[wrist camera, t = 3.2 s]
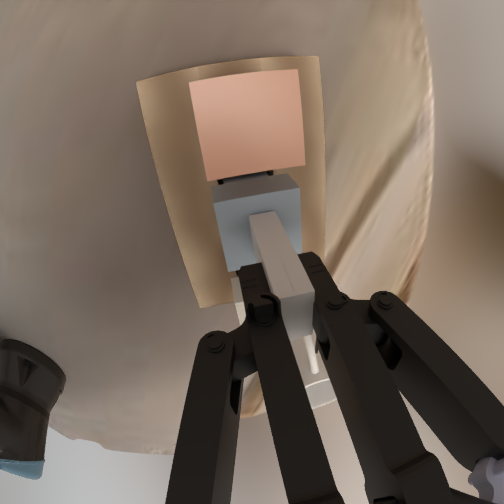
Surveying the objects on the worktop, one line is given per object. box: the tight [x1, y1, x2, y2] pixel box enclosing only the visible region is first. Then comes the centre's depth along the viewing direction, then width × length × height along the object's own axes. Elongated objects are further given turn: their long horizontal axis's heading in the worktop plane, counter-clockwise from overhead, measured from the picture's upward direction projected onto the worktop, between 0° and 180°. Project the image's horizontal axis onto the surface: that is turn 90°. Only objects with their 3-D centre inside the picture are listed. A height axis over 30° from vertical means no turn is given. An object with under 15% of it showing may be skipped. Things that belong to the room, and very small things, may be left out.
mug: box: [290, 329, 337, 409], centre depth 31 cm, size 12×8×12 cm
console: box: [136, 56, 326, 308], centre depth 22 cm, size 12×20×5 cm, turn 7°
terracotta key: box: [189, 69, 305, 182], centre depth 14 cm, size 5×5×7 cm
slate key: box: [212, 171, 302, 272], centre depth 19 cm, size 5×5×7 cm
